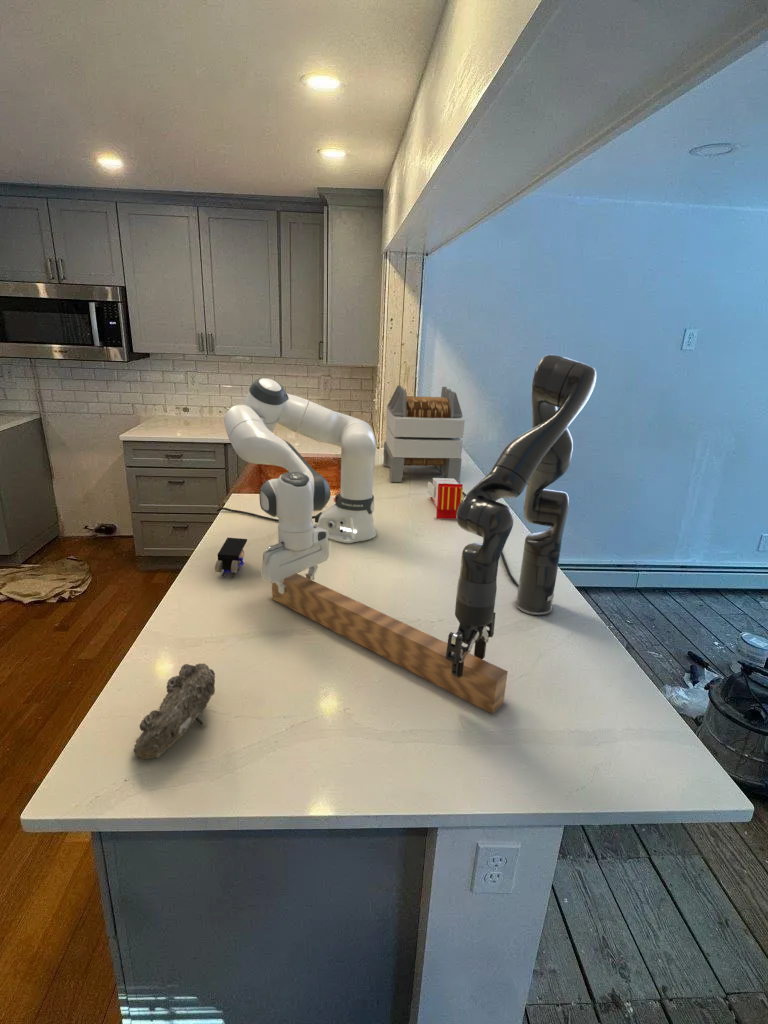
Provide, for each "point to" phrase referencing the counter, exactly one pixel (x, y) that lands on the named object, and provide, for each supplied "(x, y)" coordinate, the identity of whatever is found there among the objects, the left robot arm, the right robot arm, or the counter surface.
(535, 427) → the right robot arm
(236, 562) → the figurine character
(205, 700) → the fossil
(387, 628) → the post
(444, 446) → the transformer
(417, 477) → the counter surface
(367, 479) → the left robot arm
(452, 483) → the toy
